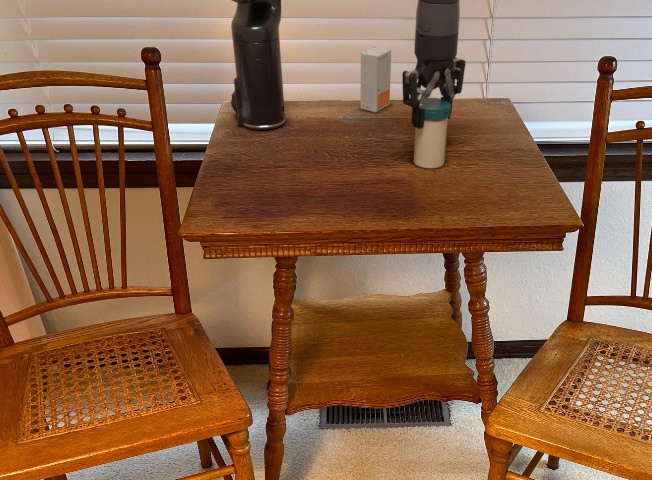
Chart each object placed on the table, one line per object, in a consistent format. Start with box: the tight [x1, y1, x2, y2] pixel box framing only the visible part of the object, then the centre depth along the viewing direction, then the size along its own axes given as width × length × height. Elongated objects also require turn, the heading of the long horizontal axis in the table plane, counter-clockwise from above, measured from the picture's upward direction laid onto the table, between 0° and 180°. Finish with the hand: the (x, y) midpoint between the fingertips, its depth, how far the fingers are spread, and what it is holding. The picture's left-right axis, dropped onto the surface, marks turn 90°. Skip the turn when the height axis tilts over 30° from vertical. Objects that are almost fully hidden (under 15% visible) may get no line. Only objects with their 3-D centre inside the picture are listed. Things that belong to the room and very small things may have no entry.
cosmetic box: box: [360, 46, 392, 113], centre depth 163 cm, size 6×4×12 cm
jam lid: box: [418, 97, 451, 120], centre depth 139 cm, size 7×7×2 cm
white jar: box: [413, 117, 449, 169], centre depth 142 cm, size 6×6×11 cm
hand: (431, 122), depth 140 cm, fingers closed on jam lid, 6 cm apart
